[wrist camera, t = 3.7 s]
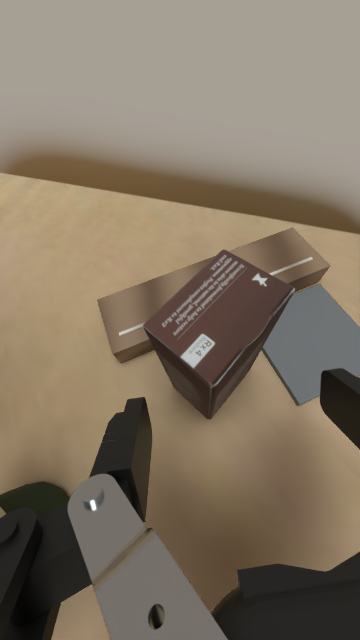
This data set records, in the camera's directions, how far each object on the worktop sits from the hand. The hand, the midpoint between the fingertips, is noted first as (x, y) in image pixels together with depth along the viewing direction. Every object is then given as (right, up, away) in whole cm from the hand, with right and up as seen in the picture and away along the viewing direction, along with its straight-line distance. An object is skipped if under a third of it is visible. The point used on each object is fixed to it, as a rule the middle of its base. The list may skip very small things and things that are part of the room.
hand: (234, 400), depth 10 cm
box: (0, -2, +10) cm, 10 cm away
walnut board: (+1, +6, +14) cm, 15 cm away
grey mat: (+10, +2, +11) cm, 15 cm away
